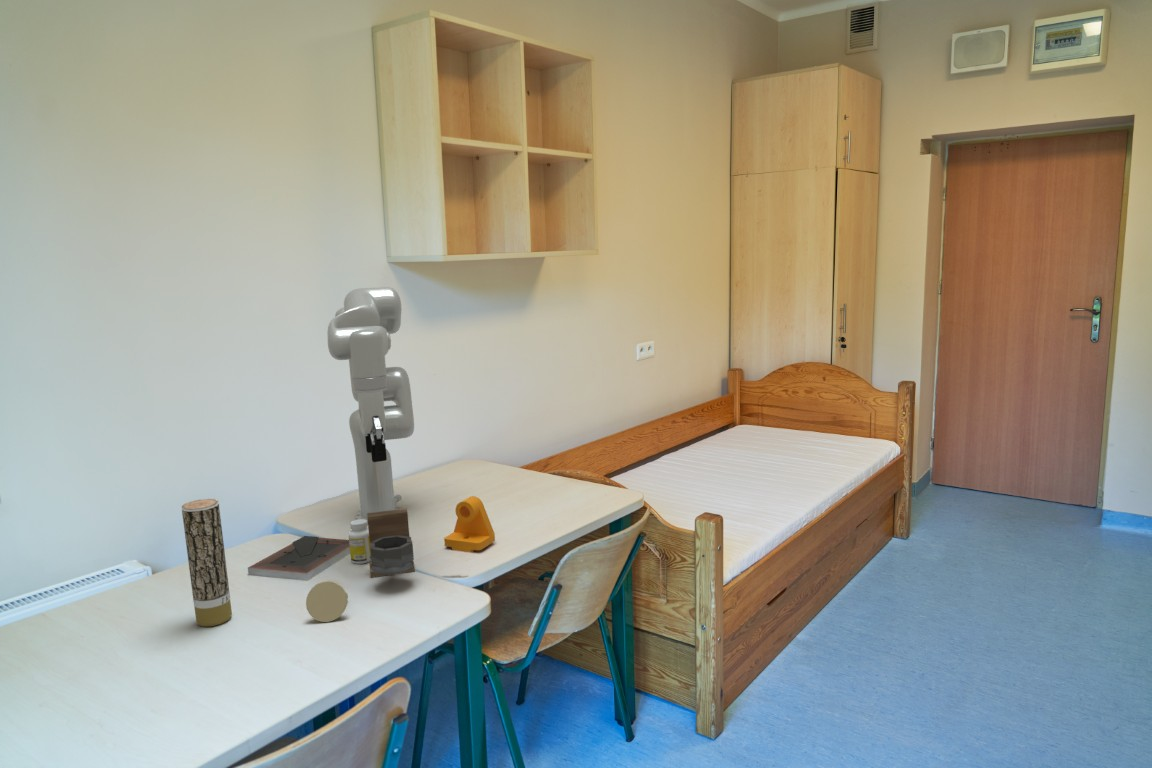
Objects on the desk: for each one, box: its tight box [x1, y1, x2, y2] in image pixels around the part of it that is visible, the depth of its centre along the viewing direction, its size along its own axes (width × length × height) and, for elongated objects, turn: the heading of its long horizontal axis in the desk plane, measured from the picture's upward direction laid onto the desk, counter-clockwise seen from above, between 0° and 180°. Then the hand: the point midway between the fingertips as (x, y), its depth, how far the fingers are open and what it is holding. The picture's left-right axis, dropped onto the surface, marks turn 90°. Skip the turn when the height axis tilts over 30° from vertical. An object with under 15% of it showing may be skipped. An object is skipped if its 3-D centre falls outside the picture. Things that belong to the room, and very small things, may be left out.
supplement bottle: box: [348, 519, 371, 565], centre depth 194 cm, size 5×5×10 cm
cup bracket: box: [367, 508, 416, 578], centre depth 182 cm, size 17×10×14 cm, turn 16°
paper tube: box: [181, 498, 233, 627], centre depth 163 cm, size 7×7×25 cm
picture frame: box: [247, 535, 350, 581], centre depth 197 cm, size 16×2×22 cm
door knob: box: [305, 580, 349, 623], centre depth 167 cm, size 10×8×8 cm
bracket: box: [443, 495, 496, 553], centre depth 201 cm, size 11×7×12 cm, turn 66°
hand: (376, 456), depth 186 cm, fingers open, 9 cm apart
